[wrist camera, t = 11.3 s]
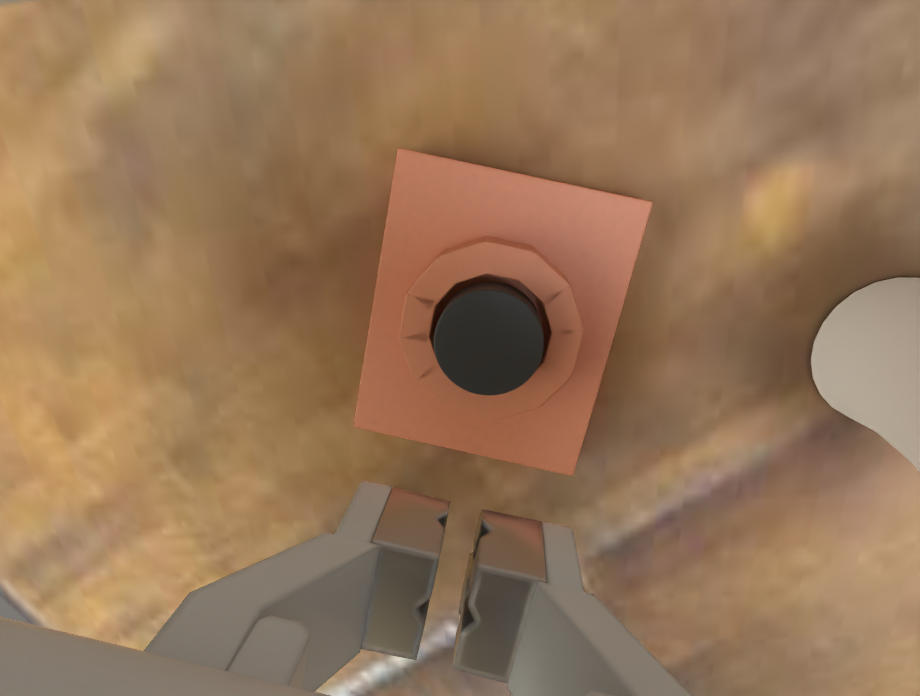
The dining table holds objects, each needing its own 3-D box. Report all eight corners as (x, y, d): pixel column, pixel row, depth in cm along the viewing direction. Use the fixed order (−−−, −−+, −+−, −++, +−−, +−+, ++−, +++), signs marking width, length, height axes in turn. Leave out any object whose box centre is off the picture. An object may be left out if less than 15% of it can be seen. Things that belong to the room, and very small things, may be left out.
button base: (568, 454, 28) (577, 498, 24) (364, 408, 28) (341, 445, 24) (641, 199, 24) (665, 203, 20) (407, 150, 24) (388, 145, 21)
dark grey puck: (528, 390, 23) (529, 406, 21) (430, 368, 23) (424, 383, 22) (553, 293, 22) (556, 303, 20) (450, 270, 22) (444, 278, 20)
